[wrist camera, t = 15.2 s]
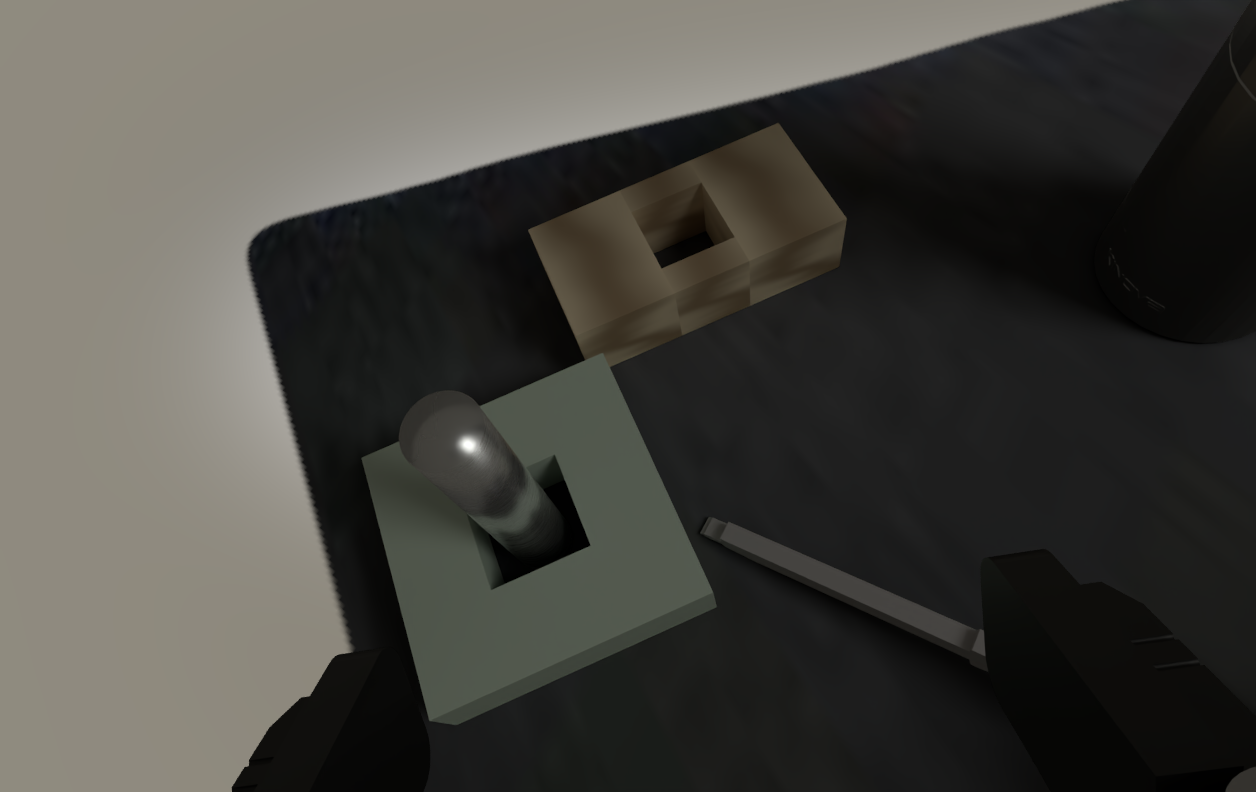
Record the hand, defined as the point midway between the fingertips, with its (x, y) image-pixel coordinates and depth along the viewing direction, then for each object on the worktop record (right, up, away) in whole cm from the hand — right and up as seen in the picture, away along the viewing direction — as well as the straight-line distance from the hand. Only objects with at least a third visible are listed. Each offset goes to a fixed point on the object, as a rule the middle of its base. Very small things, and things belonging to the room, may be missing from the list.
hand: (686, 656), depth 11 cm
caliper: (+12, -7, +27) cm, 30 cm away
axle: (-5, -4, +31) cm, 32 cm away
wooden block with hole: (+3, +11, +37) cm, 39 cm away
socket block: (-5, -4, +31) cm, 32 cm away
